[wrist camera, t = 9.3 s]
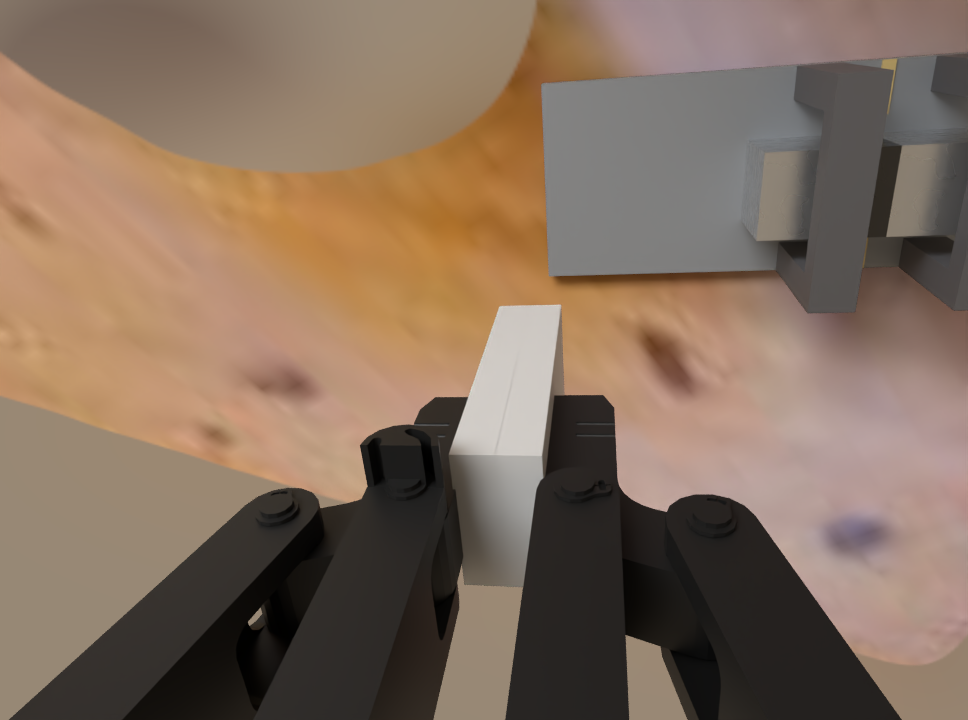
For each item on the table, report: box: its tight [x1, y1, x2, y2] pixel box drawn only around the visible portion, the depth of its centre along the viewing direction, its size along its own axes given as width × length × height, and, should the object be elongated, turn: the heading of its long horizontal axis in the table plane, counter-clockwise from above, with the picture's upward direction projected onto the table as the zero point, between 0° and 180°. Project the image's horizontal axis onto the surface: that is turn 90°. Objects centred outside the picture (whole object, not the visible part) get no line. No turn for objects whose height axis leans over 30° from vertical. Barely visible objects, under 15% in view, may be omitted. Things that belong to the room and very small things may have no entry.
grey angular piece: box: [541, 52, 968, 313], centre depth 32 cm, size 10×22×7 cm, turn 93°
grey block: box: [741, 128, 968, 241], centre depth 32 cm, size 10×4×4 cm, turn 94°
